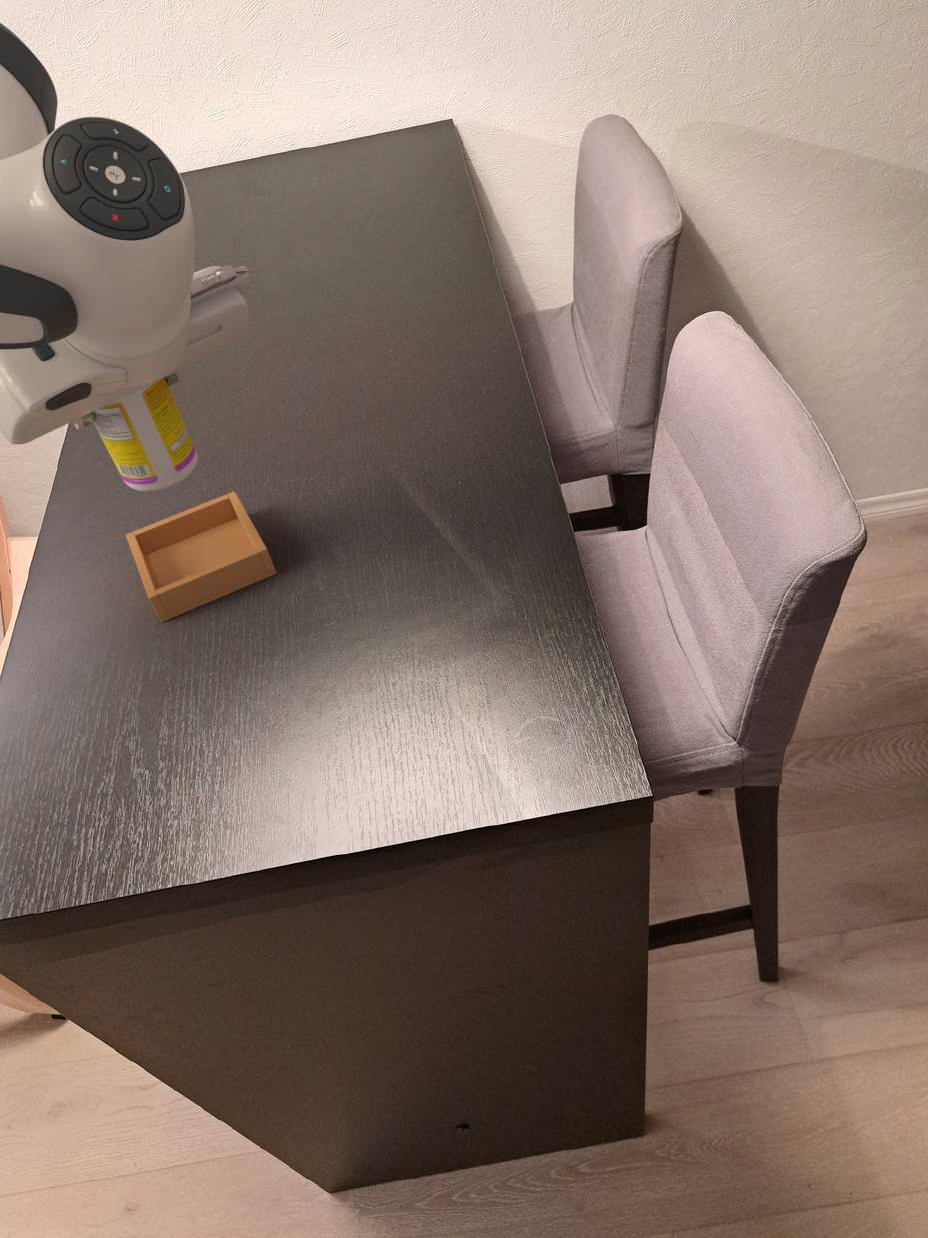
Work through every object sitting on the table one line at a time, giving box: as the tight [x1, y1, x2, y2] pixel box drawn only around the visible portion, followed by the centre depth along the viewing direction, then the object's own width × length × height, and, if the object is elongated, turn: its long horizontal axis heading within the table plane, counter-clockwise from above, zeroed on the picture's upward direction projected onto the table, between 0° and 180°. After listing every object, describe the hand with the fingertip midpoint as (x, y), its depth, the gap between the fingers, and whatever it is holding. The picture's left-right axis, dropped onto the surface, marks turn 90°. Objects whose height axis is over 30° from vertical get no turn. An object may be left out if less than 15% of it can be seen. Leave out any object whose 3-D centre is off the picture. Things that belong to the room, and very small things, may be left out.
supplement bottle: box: [92, 378, 198, 492], centre depth 77 cm, size 7×7×13 cm
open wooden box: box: [125, 490, 277, 623], centre depth 89 cm, size 11×11×3 cm
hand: (125, 397), depth 77 cm, fingers closed on supplement bottle, 6 cm apart
